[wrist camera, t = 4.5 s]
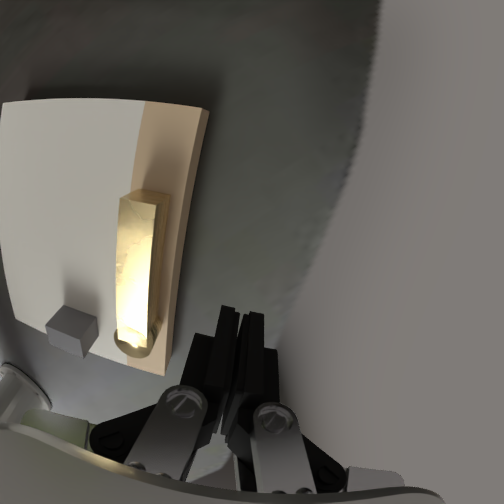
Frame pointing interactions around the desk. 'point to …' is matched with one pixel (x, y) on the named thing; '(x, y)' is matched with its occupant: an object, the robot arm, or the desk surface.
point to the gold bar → (139, 269)
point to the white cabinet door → (90, 211)
